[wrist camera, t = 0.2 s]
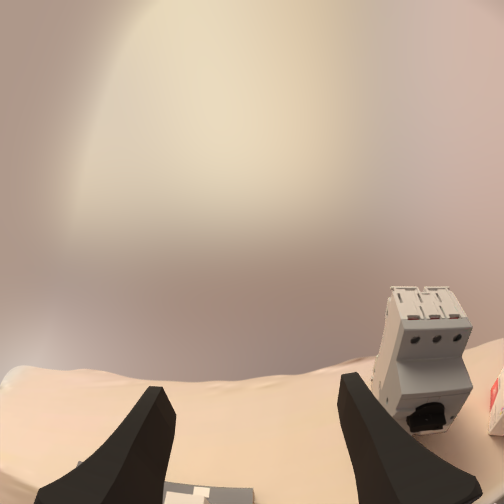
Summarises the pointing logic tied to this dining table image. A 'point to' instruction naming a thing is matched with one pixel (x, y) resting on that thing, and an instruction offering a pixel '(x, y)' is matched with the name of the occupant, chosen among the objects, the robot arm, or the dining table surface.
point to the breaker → (184, 498)
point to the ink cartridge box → (497, 407)
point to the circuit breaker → (423, 359)
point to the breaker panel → (211, 493)
